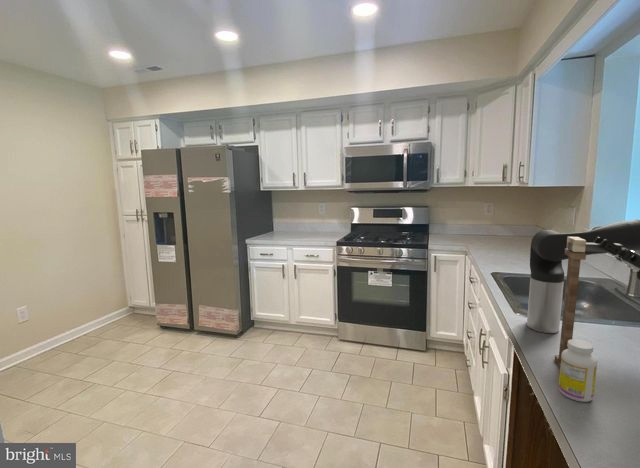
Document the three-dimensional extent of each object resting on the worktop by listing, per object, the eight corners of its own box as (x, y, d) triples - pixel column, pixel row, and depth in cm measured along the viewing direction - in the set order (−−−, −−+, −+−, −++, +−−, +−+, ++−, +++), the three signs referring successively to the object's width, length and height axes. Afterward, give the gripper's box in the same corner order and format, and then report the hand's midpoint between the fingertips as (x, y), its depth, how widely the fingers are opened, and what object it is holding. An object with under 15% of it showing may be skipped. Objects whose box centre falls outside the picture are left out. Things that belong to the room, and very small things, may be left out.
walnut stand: (554, 359, 95) (565, 248, 89) (564, 360, 94) (576, 248, 89) (562, 371, 89) (574, 253, 84) (573, 372, 88) (586, 253, 83)
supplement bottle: (577, 385, 83) (583, 336, 81) (600, 402, 77) (607, 350, 75) (551, 386, 83) (556, 337, 81) (572, 403, 76) (577, 351, 74)
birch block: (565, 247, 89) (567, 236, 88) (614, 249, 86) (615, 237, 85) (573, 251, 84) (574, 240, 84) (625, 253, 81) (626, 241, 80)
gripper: (662, 259, 87) (596, 224, 90) (703, 274, 73) (624, 233, 77) (640, 282, 89) (576, 248, 92) (677, 301, 76) (601, 260, 79)
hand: (598, 241), depth 84 cm, fingers open, 3 cm apart
